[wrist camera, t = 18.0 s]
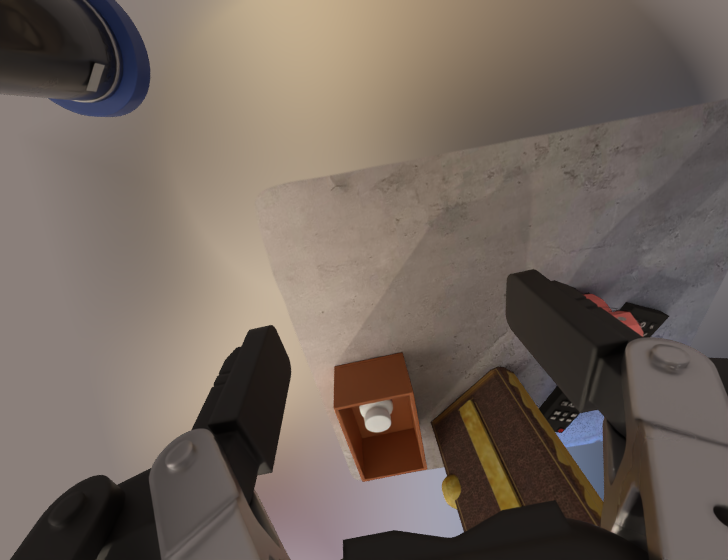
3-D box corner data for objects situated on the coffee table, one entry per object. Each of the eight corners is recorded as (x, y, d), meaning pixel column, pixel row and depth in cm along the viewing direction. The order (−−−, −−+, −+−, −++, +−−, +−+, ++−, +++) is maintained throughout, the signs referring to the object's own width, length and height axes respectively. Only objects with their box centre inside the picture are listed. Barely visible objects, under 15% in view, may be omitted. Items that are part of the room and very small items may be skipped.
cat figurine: (604, 288, 48) (679, 335, 37) (577, 321, 50) (640, 373, 40) (570, 277, 46) (638, 323, 35) (544, 311, 49) (600, 363, 38)
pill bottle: (387, 363, 51) (397, 411, 43) (386, 385, 54) (395, 434, 45) (357, 365, 51) (360, 414, 42) (357, 387, 53) (360, 436, 45)
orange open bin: (334, 366, 51) (333, 408, 44) (402, 352, 51) (413, 392, 43) (359, 437, 61) (362, 482, 54) (416, 426, 61) (427, 469, 54)
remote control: (527, 423, 63) (532, 431, 62) (626, 302, 49) (636, 308, 48) (556, 427, 65) (562, 435, 63) (660, 310, 51) (672, 317, 49)
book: (493, 361, 54) (600, 527, 32) (523, 378, 56) (640, 541, 34) (417, 428, 61) (461, 598, 40) (447, 440, 64) (502, 605, 42)
